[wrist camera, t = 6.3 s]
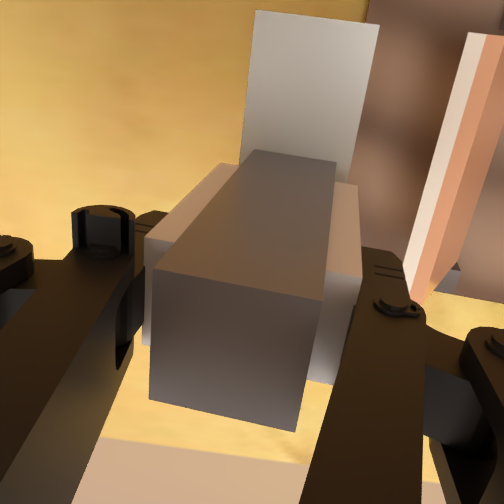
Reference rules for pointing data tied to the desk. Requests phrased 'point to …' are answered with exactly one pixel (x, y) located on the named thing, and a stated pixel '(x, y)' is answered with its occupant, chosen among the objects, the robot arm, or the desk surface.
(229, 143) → the desk surface
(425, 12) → the board
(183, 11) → the desk surface
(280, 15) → the paddle
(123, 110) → the desk surface
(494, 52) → the tile
